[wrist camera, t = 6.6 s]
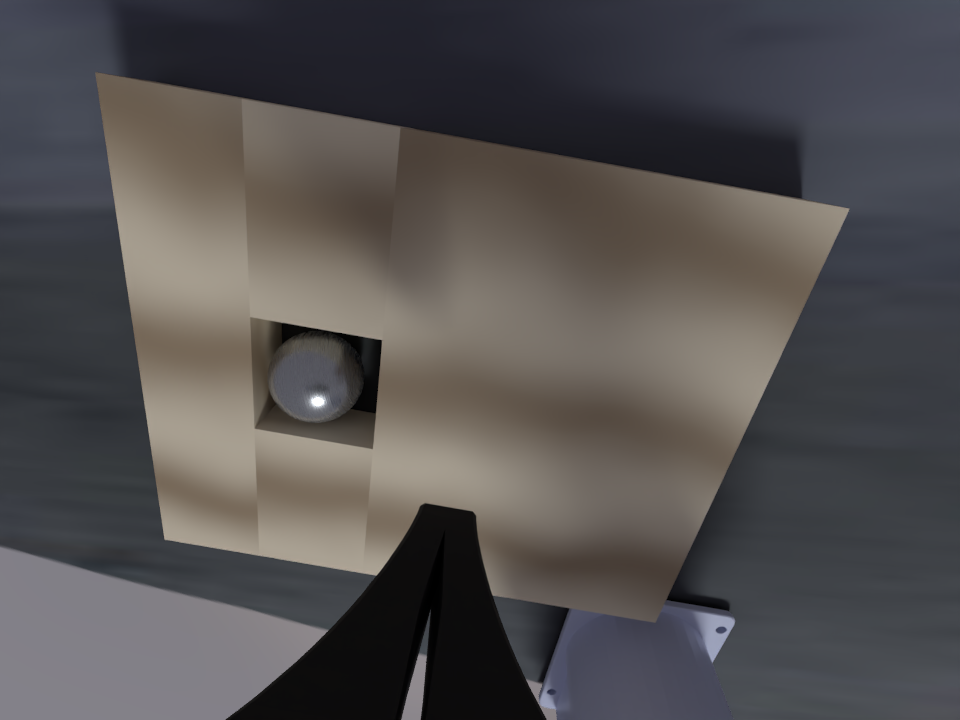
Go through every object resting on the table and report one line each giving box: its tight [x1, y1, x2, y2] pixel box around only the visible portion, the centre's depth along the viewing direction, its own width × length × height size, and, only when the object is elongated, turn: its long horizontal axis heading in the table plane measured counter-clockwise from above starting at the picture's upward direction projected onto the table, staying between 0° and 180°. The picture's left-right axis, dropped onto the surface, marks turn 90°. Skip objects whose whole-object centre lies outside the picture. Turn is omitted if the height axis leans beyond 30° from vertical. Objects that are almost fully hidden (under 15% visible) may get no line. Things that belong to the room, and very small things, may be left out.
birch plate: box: [95, 72, 849, 623], centre depth 19 cm, size 18×22×2 cm
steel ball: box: [267, 331, 364, 423], centre depth 19 cm, size 4×4×4 cm
